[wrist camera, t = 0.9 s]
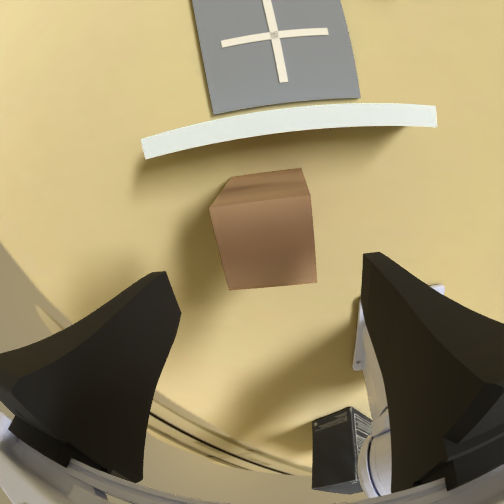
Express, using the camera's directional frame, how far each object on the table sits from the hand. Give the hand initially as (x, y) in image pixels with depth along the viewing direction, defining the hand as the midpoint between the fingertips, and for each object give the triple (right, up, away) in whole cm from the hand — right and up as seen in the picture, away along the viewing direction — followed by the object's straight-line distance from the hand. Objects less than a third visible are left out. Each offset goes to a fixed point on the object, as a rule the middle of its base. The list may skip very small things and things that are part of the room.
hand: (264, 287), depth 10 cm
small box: (+13, -23, +22) cm, 34 cm away
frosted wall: (+2, +9, +6) cm, 11 cm away
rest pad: (+1, +14, +3) cm, 14 cm away
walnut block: (+1, +4, +8) cm, 10 cm away
